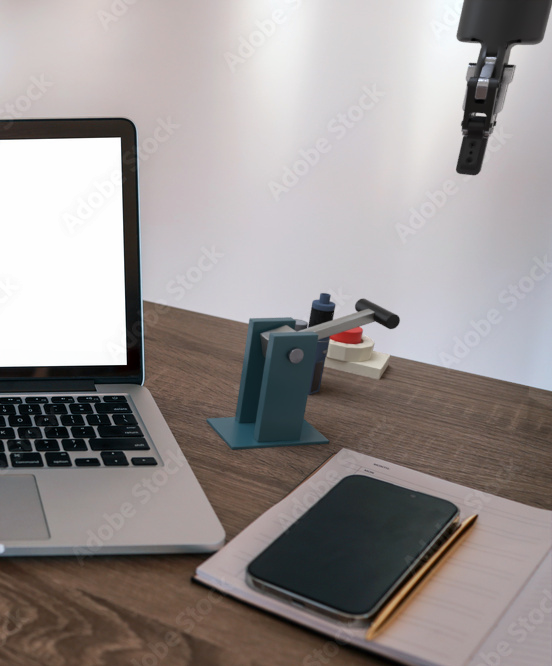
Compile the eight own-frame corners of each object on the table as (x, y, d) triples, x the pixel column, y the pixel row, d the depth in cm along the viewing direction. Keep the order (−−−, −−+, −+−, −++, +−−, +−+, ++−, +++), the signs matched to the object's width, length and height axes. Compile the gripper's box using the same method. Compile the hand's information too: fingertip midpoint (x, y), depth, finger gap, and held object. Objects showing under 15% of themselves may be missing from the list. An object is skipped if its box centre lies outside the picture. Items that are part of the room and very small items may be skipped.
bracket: (295, 423, 79) (314, 314, 75) (327, 451, 74) (349, 335, 70) (204, 429, 77) (219, 317, 73) (230, 458, 72) (248, 339, 68)
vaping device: (310, 404, 84) (329, 299, 80) (269, 388, 88) (286, 286, 84) (323, 399, 86) (342, 295, 82) (283, 383, 89) (299, 283, 85)
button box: (387, 370, 95) (393, 340, 94) (377, 387, 90) (383, 355, 88) (305, 351, 100) (310, 322, 98) (291, 366, 95) (296, 335, 93)
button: (363, 340, 94) (366, 326, 93) (356, 348, 91) (359, 334, 91) (333, 333, 96) (335, 320, 95) (325, 341, 93) (328, 327, 92)
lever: (368, 314, 76) (367, 291, 75) (400, 331, 72) (399, 307, 71) (255, 350, 75) (252, 328, 74) (281, 370, 70) (278, 347, 69)
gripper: (554, -18, 67) (504, 185, 72) (556, -4, 77) (512, 172, 83) (458, -18, 70) (418, 175, 76) (472, -4, 81) (436, 164, 87)
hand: (467, 173), depth 80 cm, fingers closed
